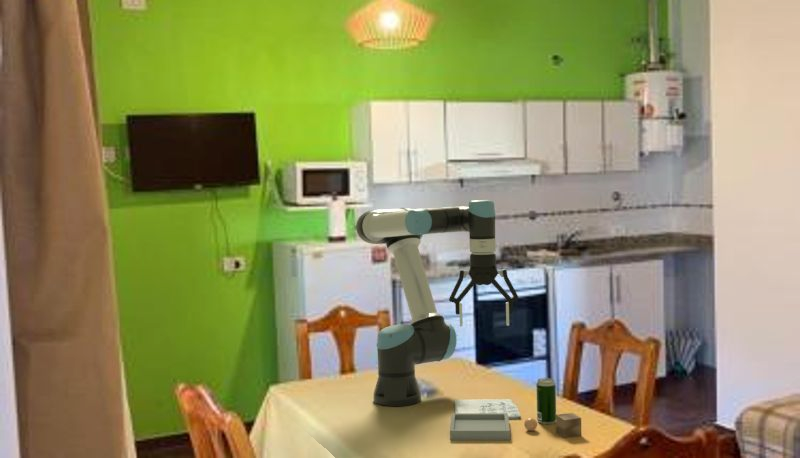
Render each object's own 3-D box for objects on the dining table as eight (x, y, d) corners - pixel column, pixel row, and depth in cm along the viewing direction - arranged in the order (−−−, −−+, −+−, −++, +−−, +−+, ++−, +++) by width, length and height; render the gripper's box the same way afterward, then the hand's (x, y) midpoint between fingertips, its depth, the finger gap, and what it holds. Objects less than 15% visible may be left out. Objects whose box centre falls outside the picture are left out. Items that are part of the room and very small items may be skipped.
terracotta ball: (524, 432, 226) (524, 420, 226) (524, 428, 229) (523, 416, 229) (537, 432, 225) (537, 420, 225) (536, 428, 229) (536, 416, 229)
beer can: (546, 425, 231) (545, 383, 230) (533, 421, 236) (532, 380, 235) (560, 422, 234) (559, 380, 233) (547, 417, 238) (546, 377, 238)
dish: (450, 439, 221) (449, 430, 221) (451, 421, 237) (451, 413, 237) (510, 439, 220) (509, 430, 220) (507, 421, 236) (507, 413, 236)
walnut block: (564, 438, 220) (564, 419, 220) (556, 432, 225) (555, 414, 225) (581, 436, 222) (581, 418, 221) (573, 430, 226) (572, 412, 226)
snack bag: (455, 422, 239) (455, 415, 239) (454, 402, 259) (453, 396, 259) (521, 421, 238) (521, 414, 238) (514, 401, 258) (514, 394, 258)
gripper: (439, 255, 238) (441, 328, 239) (526, 253, 235) (528, 327, 237) (440, 252, 245) (442, 323, 246) (525, 250, 243) (526, 322, 244)
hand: (484, 325), depth 242 cm, fingers open, 13 cm apart
